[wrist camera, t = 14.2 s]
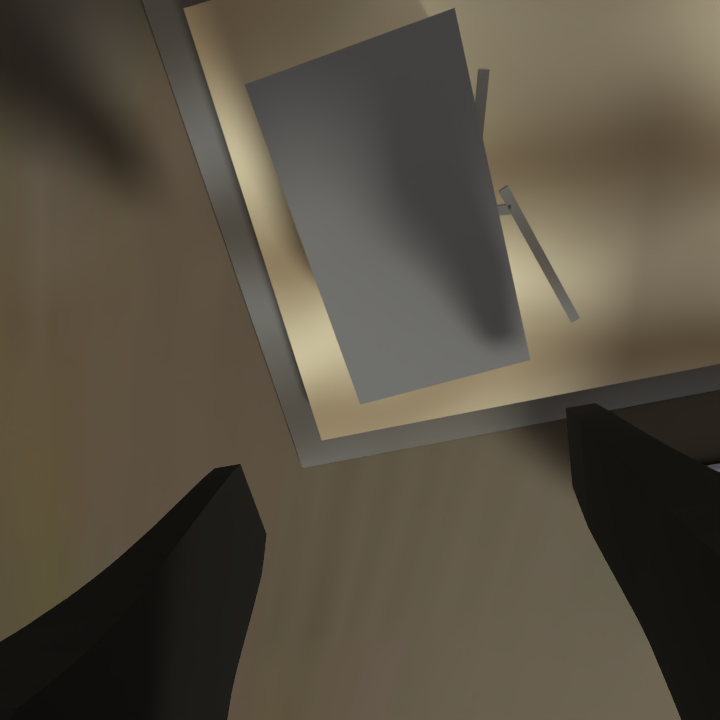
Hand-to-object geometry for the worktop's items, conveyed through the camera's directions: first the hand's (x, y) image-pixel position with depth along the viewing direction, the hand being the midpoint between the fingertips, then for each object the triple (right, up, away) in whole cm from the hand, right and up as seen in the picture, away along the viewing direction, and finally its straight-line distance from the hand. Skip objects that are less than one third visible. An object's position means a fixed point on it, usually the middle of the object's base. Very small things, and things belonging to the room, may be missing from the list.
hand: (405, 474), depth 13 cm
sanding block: (0, +7, +5) cm, 9 cm away
